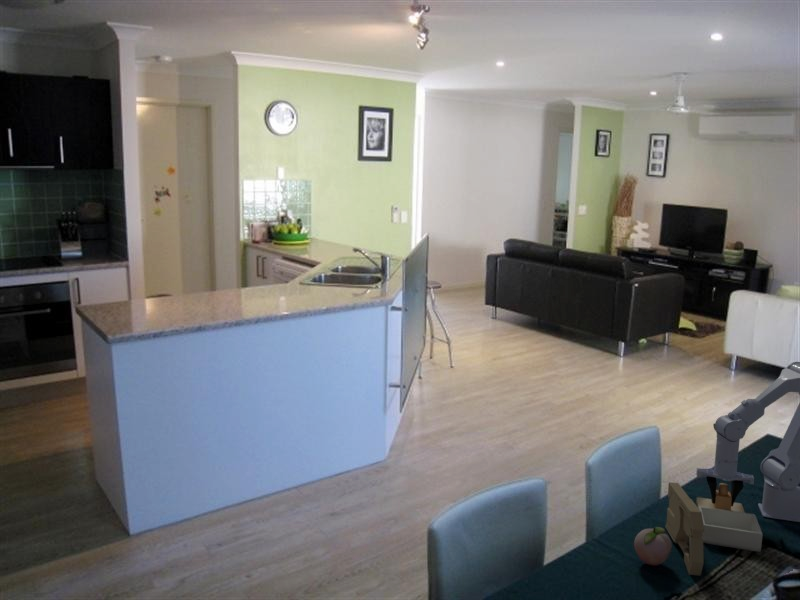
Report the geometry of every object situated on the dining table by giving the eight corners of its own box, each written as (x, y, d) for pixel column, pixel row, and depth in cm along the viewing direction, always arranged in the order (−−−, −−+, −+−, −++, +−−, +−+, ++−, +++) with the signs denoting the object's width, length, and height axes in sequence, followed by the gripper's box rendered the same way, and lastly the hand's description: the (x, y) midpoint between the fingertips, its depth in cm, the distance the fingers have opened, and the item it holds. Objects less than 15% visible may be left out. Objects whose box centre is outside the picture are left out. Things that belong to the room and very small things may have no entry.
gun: (704, 579, 157) (707, 518, 155) (689, 577, 157) (693, 517, 156) (676, 535, 181) (679, 482, 179) (664, 534, 181) (666, 481, 180)
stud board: (740, 508, 192) (742, 492, 191) (748, 528, 180) (749, 511, 180) (696, 501, 196) (697, 486, 195) (700, 520, 184) (701, 504, 183)
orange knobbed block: (728, 507, 189) (730, 483, 188) (730, 513, 185) (732, 489, 184) (713, 505, 190) (715, 481, 189) (714, 511, 187) (717, 486, 185)
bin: (753, 531, 179) (754, 514, 178) (760, 552, 168) (762, 534, 168) (697, 522, 183) (698, 506, 182) (701, 542, 173) (702, 524, 172)
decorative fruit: (640, 550, 169) (643, 514, 167) (673, 562, 164) (676, 525, 162) (627, 566, 162) (629, 529, 160) (661, 579, 156) (664, 540, 155)
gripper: (699, 460, 184) (695, 505, 186) (757, 467, 179) (753, 513, 181) (697, 450, 190) (693, 494, 193) (753, 457, 186) (748, 502, 188)
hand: (722, 503), depth 187 cm, fingers closed on orange knobbed block, 4 cm apart
